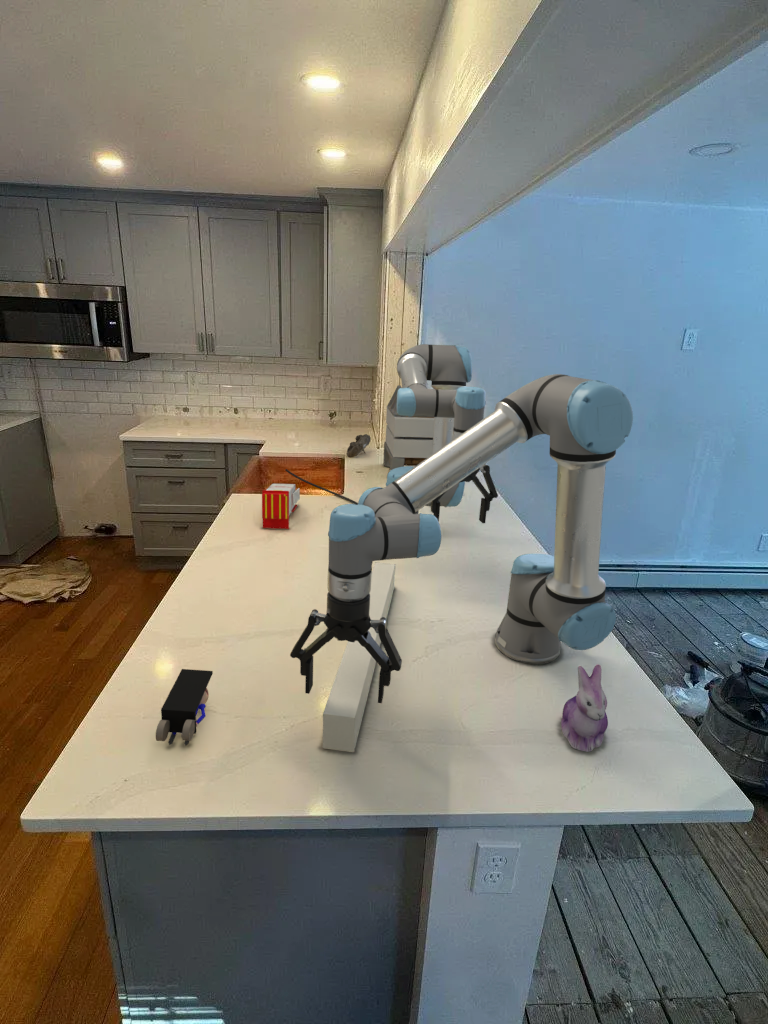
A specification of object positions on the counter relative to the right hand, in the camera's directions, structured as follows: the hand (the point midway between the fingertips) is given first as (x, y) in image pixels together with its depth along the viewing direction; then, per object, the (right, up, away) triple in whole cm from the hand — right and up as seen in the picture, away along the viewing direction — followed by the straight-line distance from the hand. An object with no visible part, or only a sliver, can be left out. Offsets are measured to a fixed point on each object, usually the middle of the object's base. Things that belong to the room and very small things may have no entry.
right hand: (344, 694), depth 106 cm
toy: (-31, +33, +106) cm, 115 cm away
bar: (+3, +2, +25) cm, 26 cm away
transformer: (+25, +53, +169) cm, 179 cm away
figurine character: (-29, -6, 0) cm, 30 cm away
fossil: (-7, +66, +201) cm, 211 cm away
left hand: (+28, +31, +50) cm, 66 cm away
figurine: (+45, -9, +2) cm, 46 cm away
